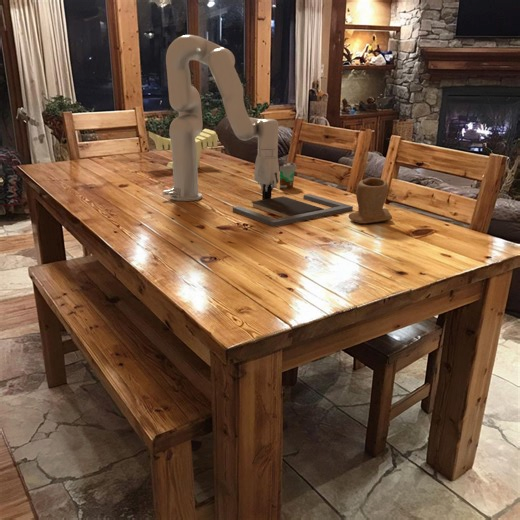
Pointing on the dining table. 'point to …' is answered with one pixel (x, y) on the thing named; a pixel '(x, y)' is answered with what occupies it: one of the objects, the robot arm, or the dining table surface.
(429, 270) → the dining table surface
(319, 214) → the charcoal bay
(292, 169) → the food container
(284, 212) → the hardcover book
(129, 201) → the dining table surface
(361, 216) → the stone cup
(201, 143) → the slatted curved stool
